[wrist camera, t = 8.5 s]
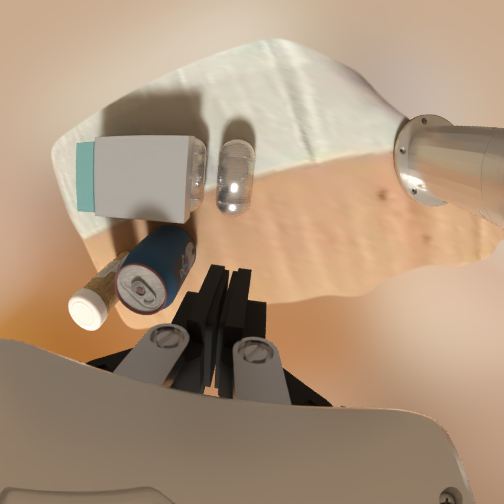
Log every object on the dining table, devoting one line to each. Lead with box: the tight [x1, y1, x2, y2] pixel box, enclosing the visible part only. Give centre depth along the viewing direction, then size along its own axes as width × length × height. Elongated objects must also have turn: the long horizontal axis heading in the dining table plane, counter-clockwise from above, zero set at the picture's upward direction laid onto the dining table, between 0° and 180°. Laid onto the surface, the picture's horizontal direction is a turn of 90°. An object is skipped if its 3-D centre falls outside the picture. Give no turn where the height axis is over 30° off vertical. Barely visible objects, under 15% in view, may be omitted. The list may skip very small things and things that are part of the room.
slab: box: [94, 135, 195, 223], centre depth 28 cm, size 11×9×2 cm
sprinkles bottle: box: [68, 251, 129, 330], centre depth 32 cm, size 5×5×13 cm
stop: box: [76, 142, 95, 212], centre depth 30 cm, size 2×8×7 cm, turn 174°
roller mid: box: [190, 137, 207, 212], centre depth 31 cm, size 9×4×4 cm, turn 174°
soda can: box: [114, 225, 196, 315], centre depth 32 cm, size 7×7×12 cm
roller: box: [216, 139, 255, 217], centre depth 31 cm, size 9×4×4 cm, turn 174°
